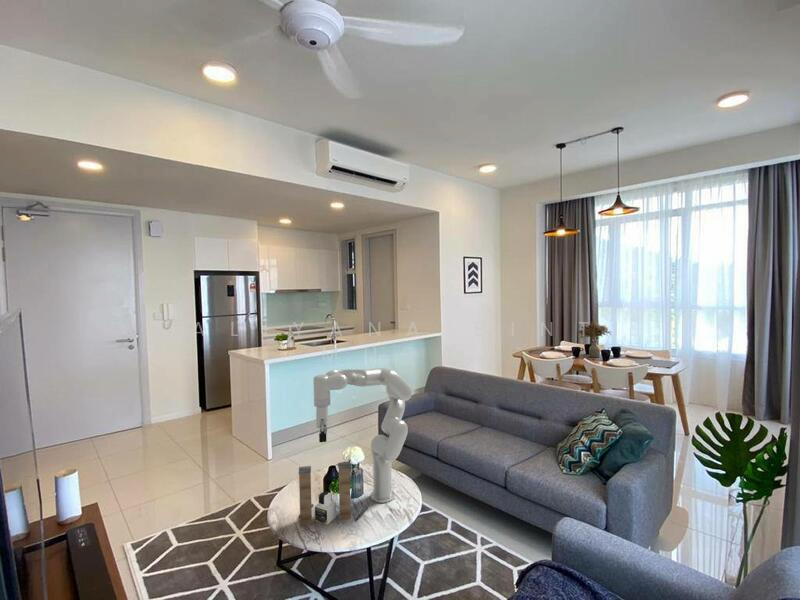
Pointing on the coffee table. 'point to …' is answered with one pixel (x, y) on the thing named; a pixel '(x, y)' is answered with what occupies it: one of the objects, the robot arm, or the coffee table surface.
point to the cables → (357, 516)
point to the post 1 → (305, 495)
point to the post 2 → (344, 490)
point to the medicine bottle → (325, 508)
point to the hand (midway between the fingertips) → (323, 437)
